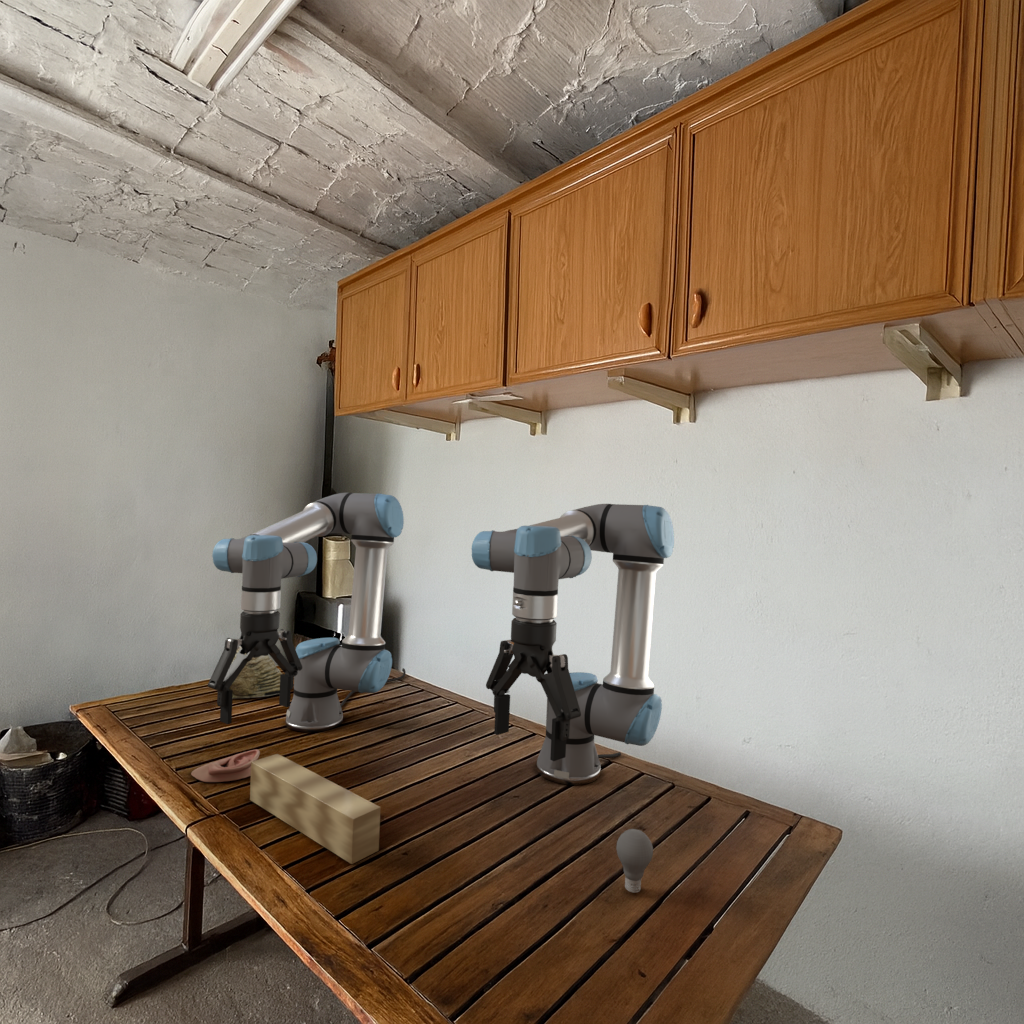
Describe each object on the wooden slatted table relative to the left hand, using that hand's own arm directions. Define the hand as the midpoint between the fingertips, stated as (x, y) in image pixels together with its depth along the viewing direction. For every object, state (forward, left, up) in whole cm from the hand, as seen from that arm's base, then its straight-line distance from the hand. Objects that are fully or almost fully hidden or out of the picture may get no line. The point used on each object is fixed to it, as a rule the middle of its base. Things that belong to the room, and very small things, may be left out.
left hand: (256, 713), depth 130 cm
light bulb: (-27, +73, -18) cm, 80 cm away
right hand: (-15, +58, +5) cm, 61 cm away
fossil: (-36, -63, -18) cm, 75 cm away
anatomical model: (-3, -17, -18) cm, 25 cm away
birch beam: (-3, +16, -18) cm, 24 cm away
